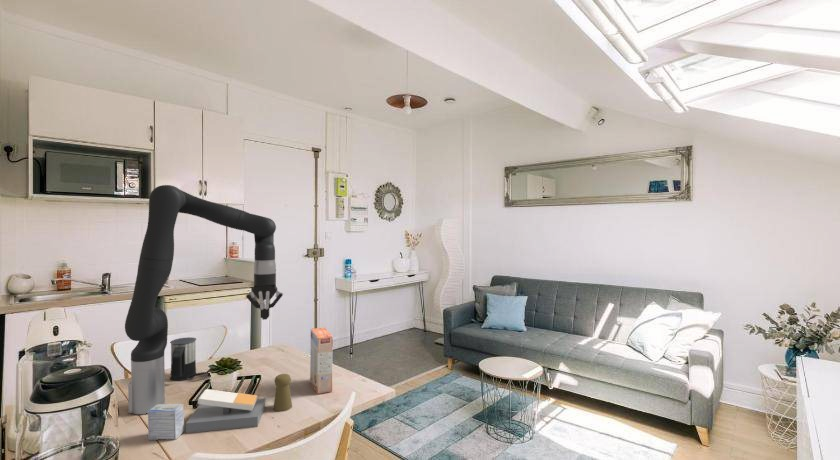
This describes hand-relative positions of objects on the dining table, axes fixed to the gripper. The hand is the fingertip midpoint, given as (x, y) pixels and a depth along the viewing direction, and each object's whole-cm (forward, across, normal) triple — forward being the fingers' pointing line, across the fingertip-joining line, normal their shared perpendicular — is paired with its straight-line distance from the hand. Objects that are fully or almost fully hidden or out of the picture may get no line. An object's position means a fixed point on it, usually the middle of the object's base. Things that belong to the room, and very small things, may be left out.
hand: (265, 319), depth 145 cm
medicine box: (+27, -23, -26) cm, 44 cm away
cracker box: (+27, +20, +1) cm, 34 cm away
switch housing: (+27, -8, -19) cm, 34 cm away
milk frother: (+27, -31, +20) cm, 46 cm away
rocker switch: (+22, -8, -19) cm, 30 cm away
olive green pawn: (+27, +8, -14) cm, 32 cm away
